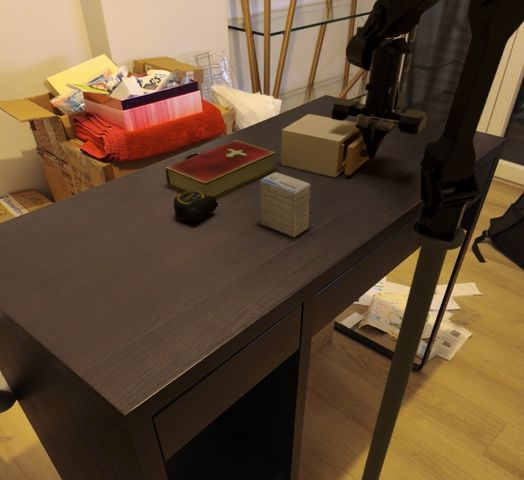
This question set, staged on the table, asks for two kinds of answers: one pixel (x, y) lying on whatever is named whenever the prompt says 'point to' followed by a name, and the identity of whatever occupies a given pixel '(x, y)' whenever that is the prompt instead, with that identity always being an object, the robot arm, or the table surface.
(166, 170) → the hardcover book
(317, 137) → the cabinet
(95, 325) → the table surface
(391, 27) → the robot arm
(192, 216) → the tape measure
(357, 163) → the drawer
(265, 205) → the medicine box
